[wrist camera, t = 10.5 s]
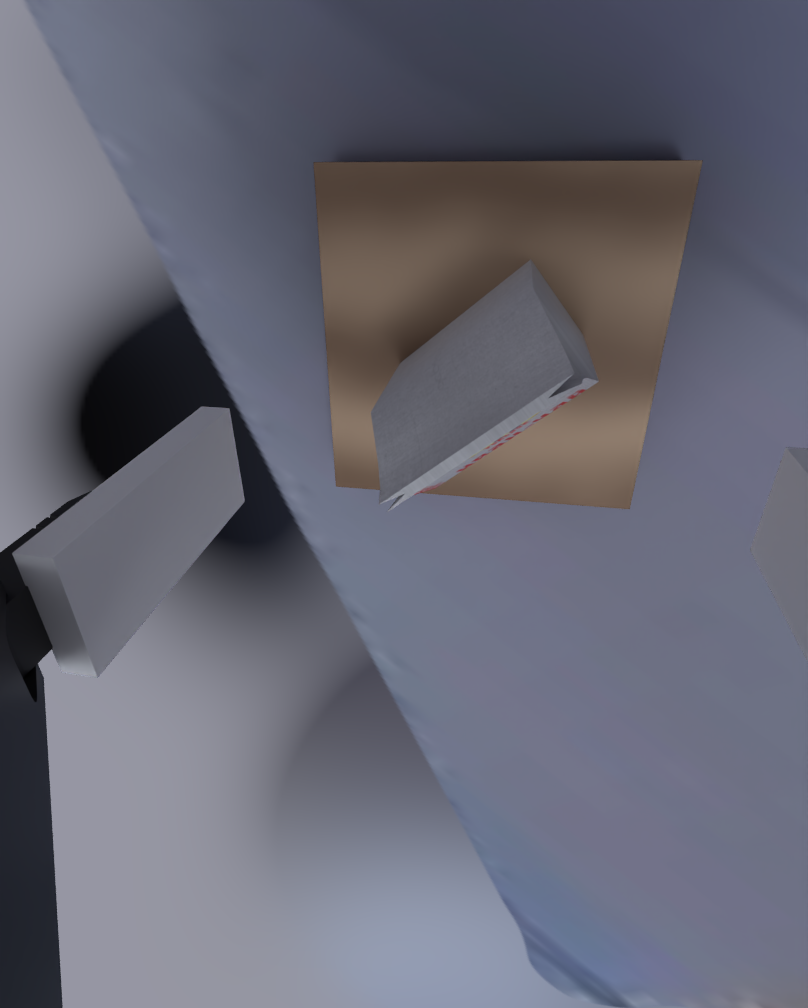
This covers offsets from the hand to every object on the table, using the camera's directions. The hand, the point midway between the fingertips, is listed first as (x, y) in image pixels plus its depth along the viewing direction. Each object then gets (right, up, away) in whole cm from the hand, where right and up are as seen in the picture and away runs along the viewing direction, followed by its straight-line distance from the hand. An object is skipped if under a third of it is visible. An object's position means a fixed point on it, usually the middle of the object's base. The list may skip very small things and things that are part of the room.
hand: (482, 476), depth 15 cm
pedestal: (+2, +7, +13) cm, 15 cm away
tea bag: (+2, +6, +11) cm, 12 cm away
